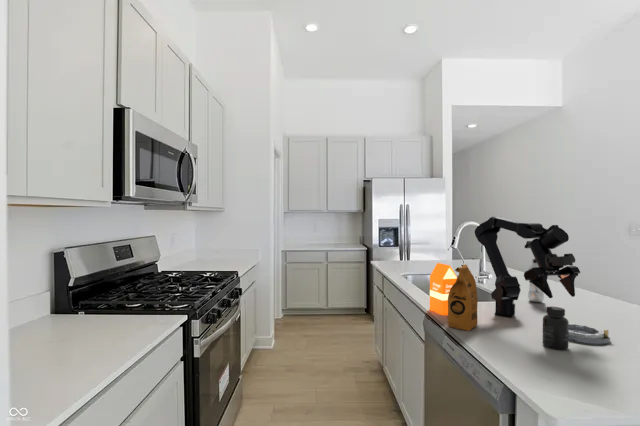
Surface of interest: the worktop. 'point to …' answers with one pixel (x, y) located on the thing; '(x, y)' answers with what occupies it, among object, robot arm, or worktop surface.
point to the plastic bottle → (535, 289)
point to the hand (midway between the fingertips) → (562, 297)
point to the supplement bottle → (555, 329)
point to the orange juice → (441, 287)
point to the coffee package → (463, 301)
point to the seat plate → (590, 342)
